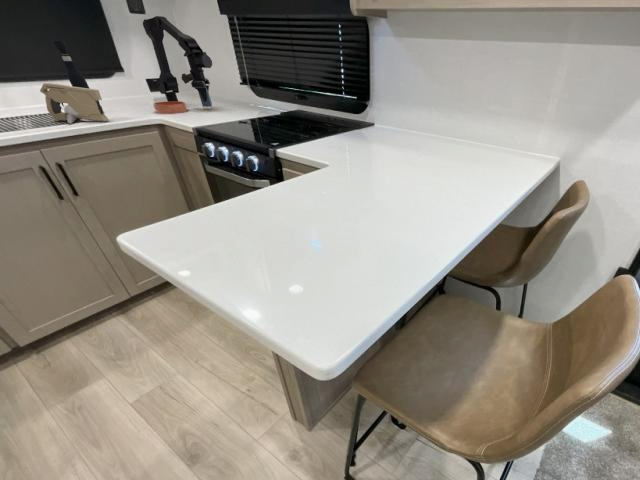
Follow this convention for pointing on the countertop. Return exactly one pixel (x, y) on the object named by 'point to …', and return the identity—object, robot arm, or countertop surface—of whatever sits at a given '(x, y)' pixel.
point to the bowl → (170, 107)
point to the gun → (73, 102)
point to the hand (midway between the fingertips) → (206, 100)
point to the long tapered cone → (70, 114)
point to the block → (206, 100)
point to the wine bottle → (71, 67)
